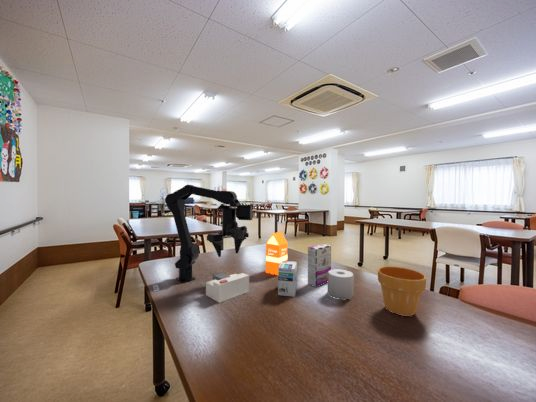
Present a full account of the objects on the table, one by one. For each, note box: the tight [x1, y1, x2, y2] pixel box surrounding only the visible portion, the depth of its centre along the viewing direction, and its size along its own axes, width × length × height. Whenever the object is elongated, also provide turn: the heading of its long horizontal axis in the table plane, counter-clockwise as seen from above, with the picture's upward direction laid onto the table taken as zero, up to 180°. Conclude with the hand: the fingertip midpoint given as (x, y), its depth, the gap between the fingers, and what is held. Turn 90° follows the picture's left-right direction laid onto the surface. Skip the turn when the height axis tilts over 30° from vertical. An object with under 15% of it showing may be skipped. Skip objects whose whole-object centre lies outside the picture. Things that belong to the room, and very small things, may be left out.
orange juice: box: [265, 231, 289, 276], centre depth 118 cm, size 8×9×20 cm
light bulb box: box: [277, 260, 298, 298], centre depth 95 cm, size 11×7×11 cm, turn 168°
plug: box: [212, 272, 230, 280], centre depth 93 cm, size 10×4×6 cm, turn 45°
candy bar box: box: [307, 243, 332, 288], centre depth 104 cm, size 11×5×16 cm, turn 131°
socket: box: [205, 272, 250, 304], centre depth 91 cm, size 9×14×7 cm, turn 135°
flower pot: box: [377, 266, 427, 315], centre depth 79 cm, size 14×14×13 cm
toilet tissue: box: [327, 268, 355, 300], centre depth 93 cm, size 9×13×9 cm
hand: (228, 255), depth 103 cm, fingers open, 9 cm apart
